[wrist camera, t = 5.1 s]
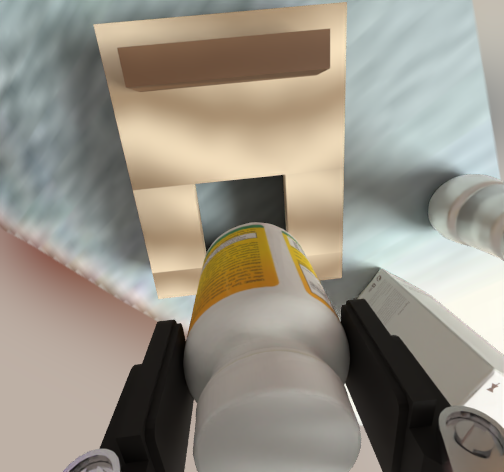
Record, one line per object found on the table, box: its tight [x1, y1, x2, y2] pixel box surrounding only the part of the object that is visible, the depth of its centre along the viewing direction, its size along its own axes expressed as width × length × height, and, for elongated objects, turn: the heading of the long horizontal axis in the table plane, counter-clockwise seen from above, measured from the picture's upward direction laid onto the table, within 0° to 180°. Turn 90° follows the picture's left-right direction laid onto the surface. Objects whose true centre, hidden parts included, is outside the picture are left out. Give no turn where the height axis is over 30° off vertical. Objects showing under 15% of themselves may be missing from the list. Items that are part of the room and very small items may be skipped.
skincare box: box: [357, 269, 504, 428], centre depth 27 cm, size 8×6×15 cm
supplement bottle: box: [183, 222, 361, 472], centre depth 12 cm, size 5×5×10 cm
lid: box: [93, 2, 347, 299], centre depth 22 cm, size 20×16×4 cm
